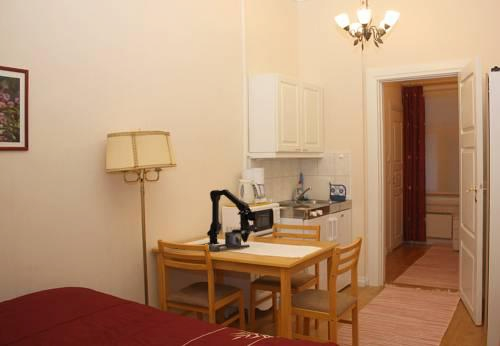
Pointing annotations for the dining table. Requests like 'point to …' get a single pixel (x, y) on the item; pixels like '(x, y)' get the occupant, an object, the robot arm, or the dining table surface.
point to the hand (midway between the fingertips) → (245, 242)
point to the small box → (232, 239)
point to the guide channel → (217, 248)
